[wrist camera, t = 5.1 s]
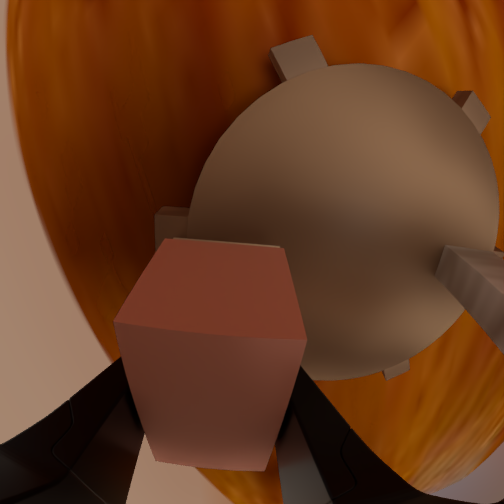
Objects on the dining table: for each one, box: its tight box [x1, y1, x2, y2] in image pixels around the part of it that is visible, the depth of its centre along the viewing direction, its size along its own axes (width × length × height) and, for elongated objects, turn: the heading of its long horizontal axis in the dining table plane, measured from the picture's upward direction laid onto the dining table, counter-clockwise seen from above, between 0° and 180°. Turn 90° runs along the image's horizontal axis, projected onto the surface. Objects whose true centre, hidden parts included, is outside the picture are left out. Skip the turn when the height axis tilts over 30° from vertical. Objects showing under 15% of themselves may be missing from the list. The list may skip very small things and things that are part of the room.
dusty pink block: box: [113, 238, 307, 471], centre depth 8 cm, size 4×6×4 cm, turn 174°
